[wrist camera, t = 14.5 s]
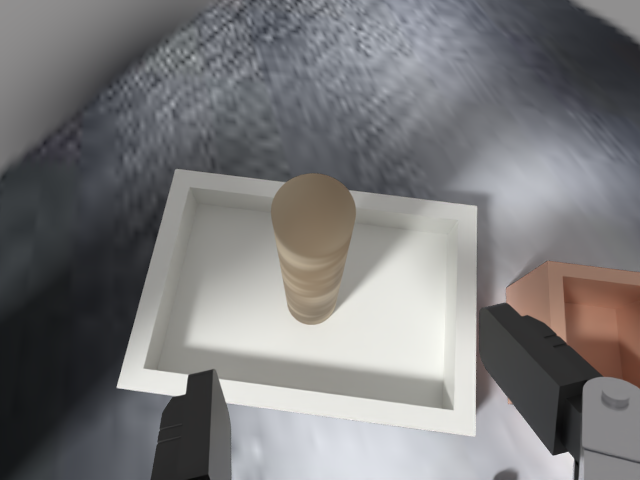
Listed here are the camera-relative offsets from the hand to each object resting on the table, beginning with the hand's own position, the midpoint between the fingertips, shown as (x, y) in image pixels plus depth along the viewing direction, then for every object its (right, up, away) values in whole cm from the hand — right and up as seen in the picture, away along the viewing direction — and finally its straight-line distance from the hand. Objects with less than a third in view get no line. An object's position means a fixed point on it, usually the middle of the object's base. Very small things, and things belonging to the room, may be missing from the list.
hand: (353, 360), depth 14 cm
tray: (-2, -1, +18) cm, 18 cm away
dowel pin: (-2, 0, +17) cm, 17 cm away
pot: (+15, -4, +17) cm, 23 cm away
